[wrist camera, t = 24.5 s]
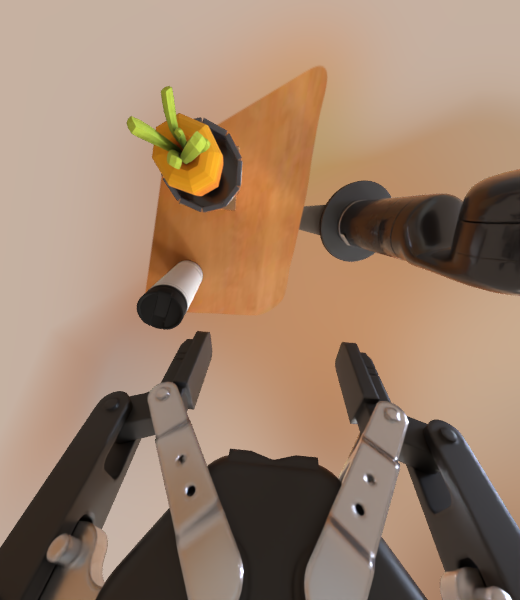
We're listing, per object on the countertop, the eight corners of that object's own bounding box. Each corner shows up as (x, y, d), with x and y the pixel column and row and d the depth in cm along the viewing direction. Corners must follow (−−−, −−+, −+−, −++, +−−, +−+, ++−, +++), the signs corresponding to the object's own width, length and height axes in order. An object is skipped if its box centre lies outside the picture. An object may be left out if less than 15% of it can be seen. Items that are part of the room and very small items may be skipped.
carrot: (174, 179, 25) (97, 138, 11) (200, 140, 23) (150, 39, 10) (210, 210, 26) (183, 208, 12) (236, 175, 25) (237, 130, 11)
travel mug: (207, 264, 47) (189, 298, 29) (198, 291, 49) (176, 339, 31) (178, 254, 45) (140, 282, 27) (170, 282, 48) (129, 326, 29)
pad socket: (239, 169, 41) (244, 124, 20) (237, 214, 44) (238, 216, 23) (198, 164, 40) (157, 110, 19) (198, 209, 43) (163, 207, 22)
